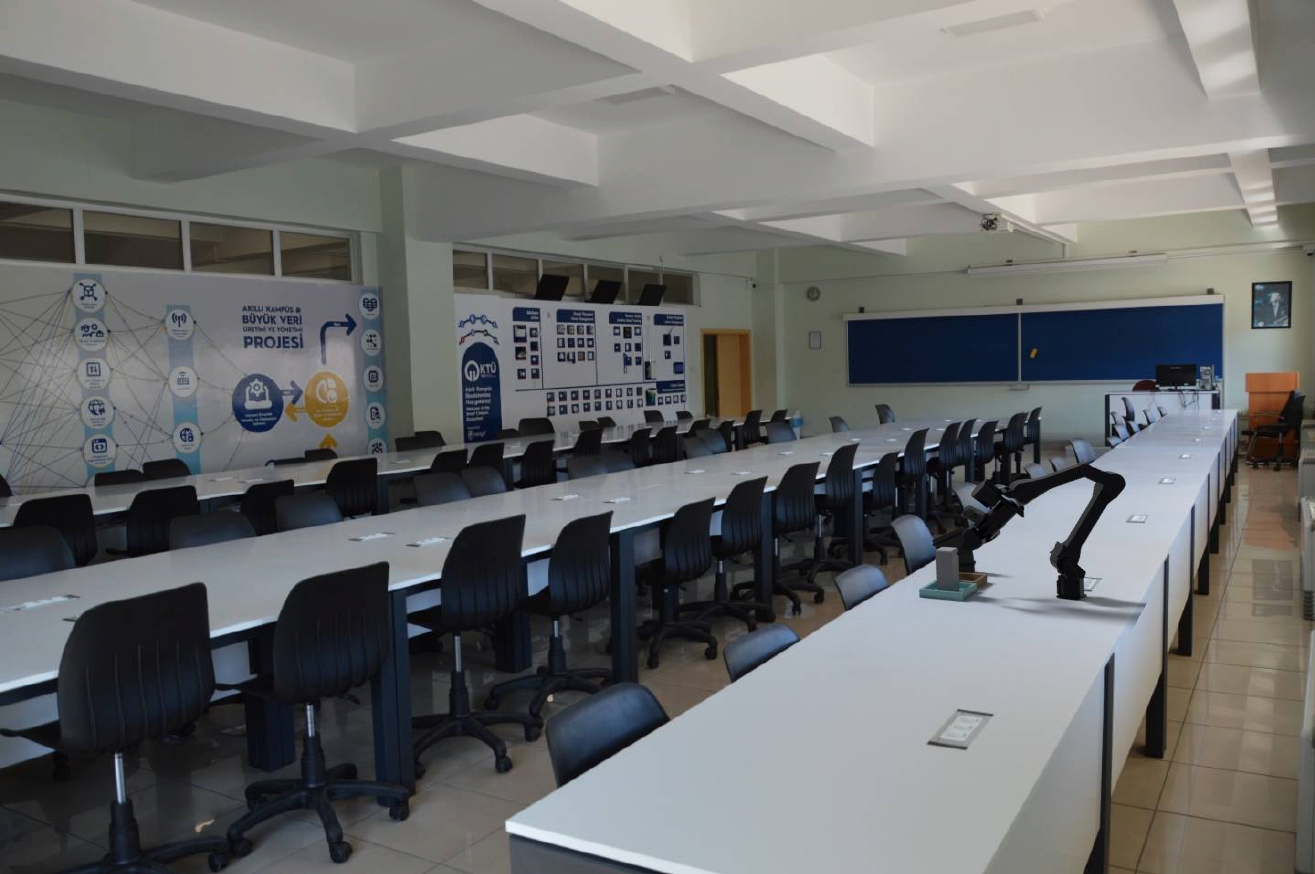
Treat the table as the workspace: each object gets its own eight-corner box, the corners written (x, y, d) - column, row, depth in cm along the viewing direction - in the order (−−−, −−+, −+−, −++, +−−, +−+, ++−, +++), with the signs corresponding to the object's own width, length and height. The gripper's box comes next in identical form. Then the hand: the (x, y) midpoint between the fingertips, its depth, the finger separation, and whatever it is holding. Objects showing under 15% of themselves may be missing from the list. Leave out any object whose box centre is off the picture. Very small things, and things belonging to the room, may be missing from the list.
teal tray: (977, 591, 296) (976, 583, 295) (962, 601, 285) (962, 593, 284) (935, 587, 303) (934, 580, 303) (919, 597, 292) (919, 589, 292)
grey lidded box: (959, 590, 295) (957, 547, 294) (953, 594, 290) (951, 551, 289) (943, 588, 298) (941, 546, 297) (937, 592, 293) (935, 550, 292)
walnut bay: (987, 582, 306) (986, 557, 306) (976, 590, 297) (975, 564, 296) (952, 579, 313) (951, 555, 312) (940, 587, 303) (939, 561, 303)
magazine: (983, 569, 318) (961, 527, 320) (946, 584, 324) (925, 543, 326) (985, 566, 321) (963, 525, 323) (949, 581, 327) (928, 541, 330)
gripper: (987, 492, 294) (953, 527, 301) (968, 501, 279) (932, 537, 286) (1015, 519, 290) (979, 553, 297) (997, 529, 274) (959, 565, 282)
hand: (962, 552), depth 290 cm, fingers open, 9 cm apart
